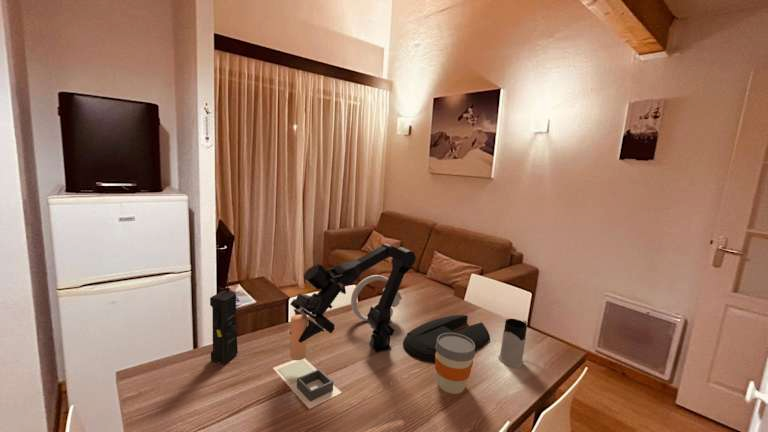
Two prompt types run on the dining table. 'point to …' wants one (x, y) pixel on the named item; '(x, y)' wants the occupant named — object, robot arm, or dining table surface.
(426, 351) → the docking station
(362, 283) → the headphones
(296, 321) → the tall peach cylinder
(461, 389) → the reusable coffee cup
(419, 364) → the dining table surface
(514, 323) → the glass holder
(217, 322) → the portable radio
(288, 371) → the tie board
